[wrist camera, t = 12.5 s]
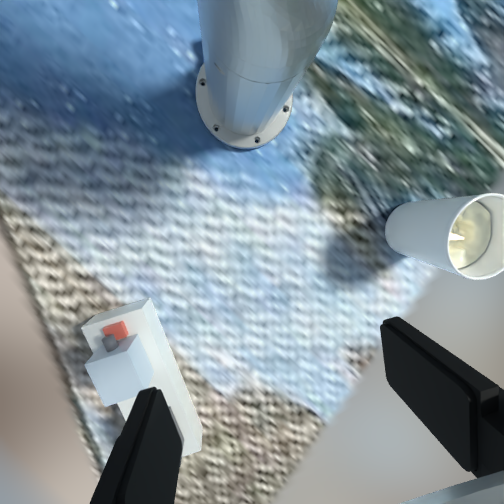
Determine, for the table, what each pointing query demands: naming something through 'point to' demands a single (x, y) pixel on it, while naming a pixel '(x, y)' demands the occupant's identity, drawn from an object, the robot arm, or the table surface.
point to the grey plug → (119, 369)
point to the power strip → (160, 356)
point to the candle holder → (452, 233)
